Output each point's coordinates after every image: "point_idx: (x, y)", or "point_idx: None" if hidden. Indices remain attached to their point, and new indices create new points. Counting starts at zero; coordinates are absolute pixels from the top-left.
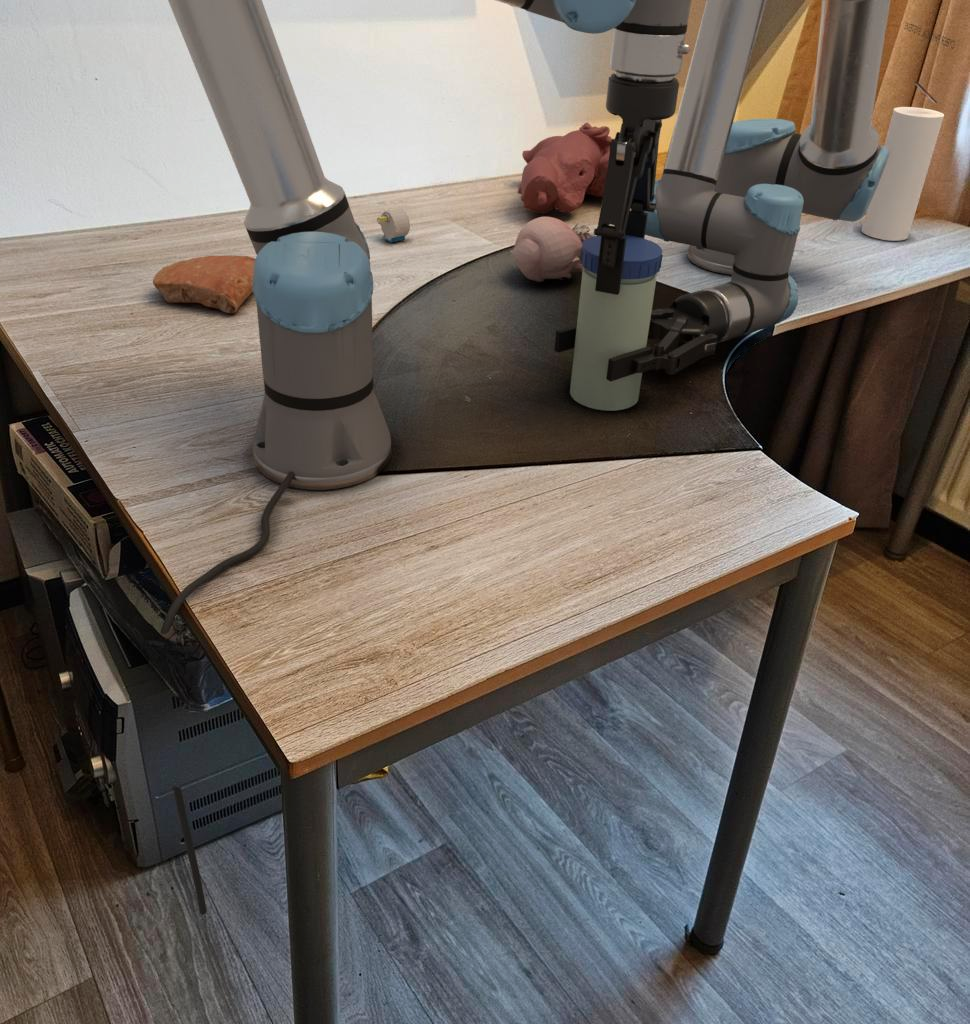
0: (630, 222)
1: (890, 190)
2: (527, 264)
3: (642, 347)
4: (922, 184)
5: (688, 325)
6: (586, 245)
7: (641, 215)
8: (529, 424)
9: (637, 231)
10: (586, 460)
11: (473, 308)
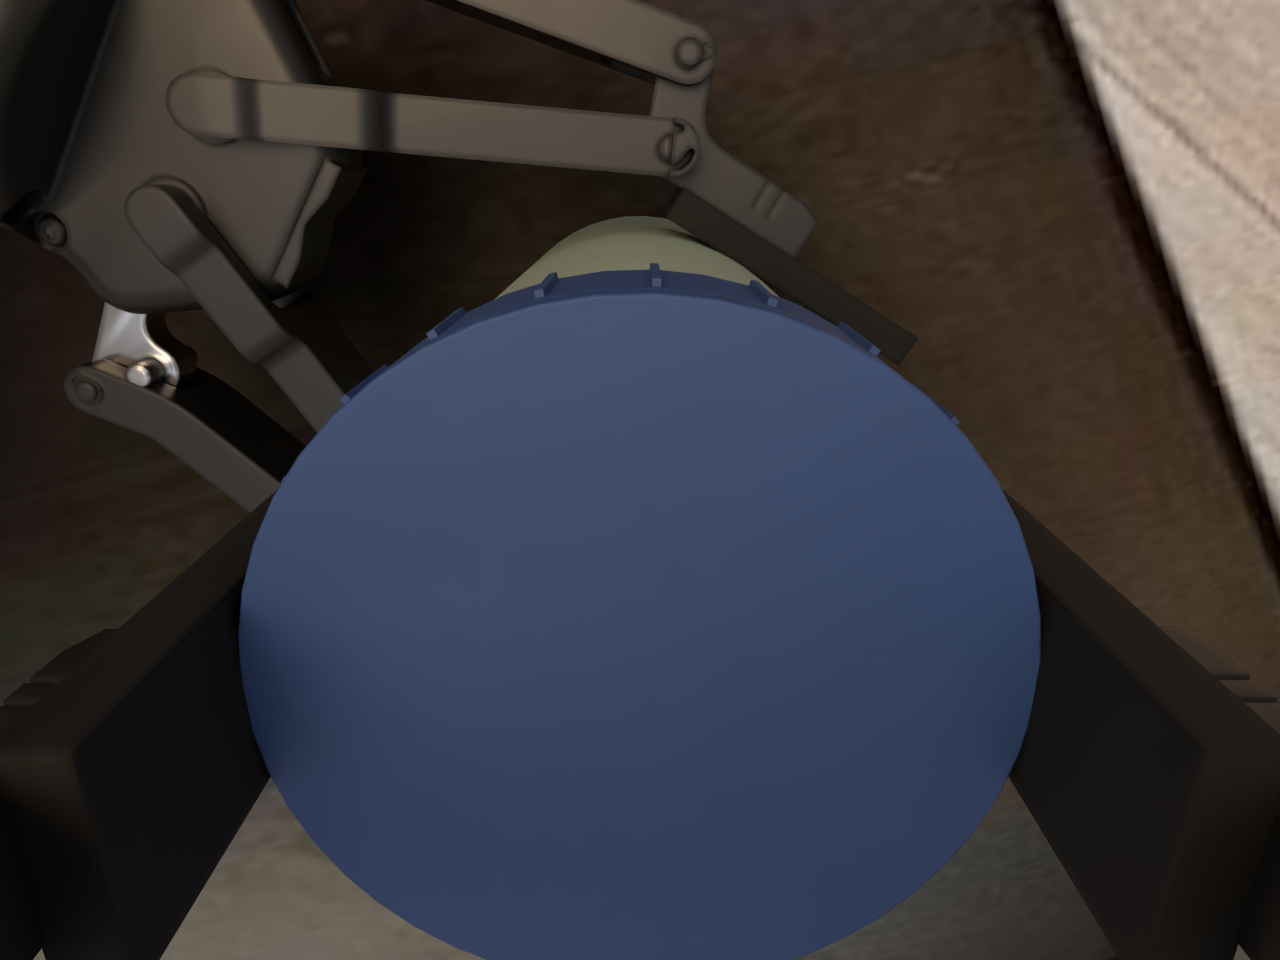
0: (182, 822)
1: None
2: None
3: (689, 241)
4: None
5: (225, 64)
6: (756, 947)
7: (102, 797)
8: None
9: (212, 687)
10: (1158, 272)
11: (210, 937)
